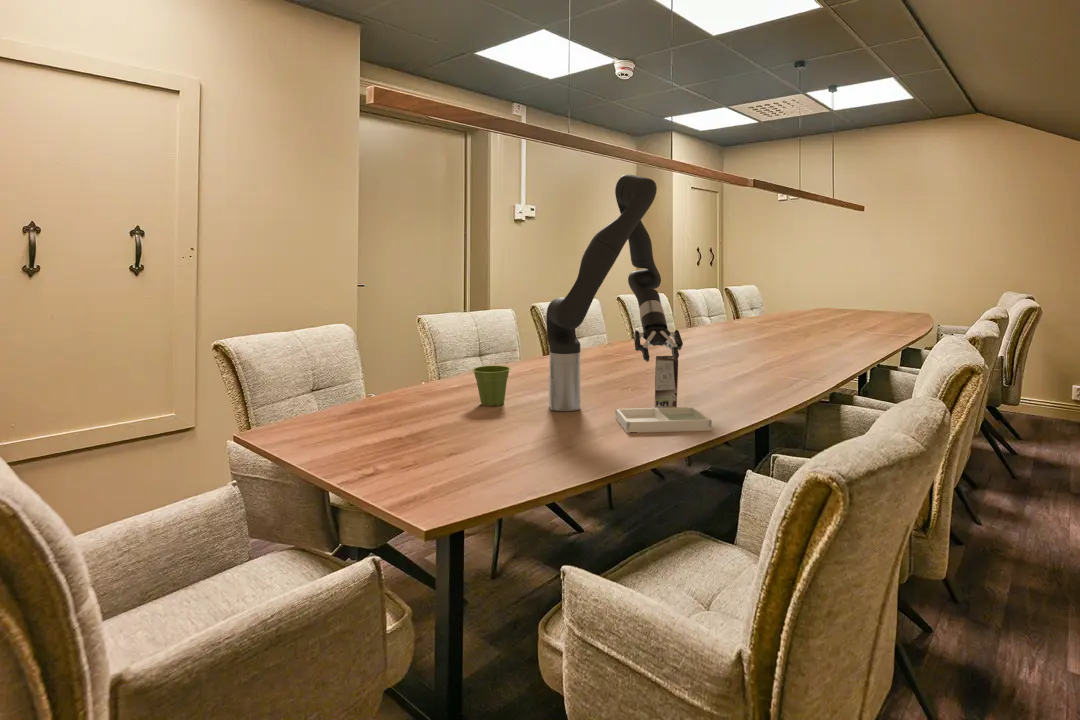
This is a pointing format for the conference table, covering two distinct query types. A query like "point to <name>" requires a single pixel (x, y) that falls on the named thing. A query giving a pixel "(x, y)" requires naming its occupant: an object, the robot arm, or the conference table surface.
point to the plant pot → (491, 384)
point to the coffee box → (666, 381)
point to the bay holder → (663, 419)
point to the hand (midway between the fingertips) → (661, 359)
